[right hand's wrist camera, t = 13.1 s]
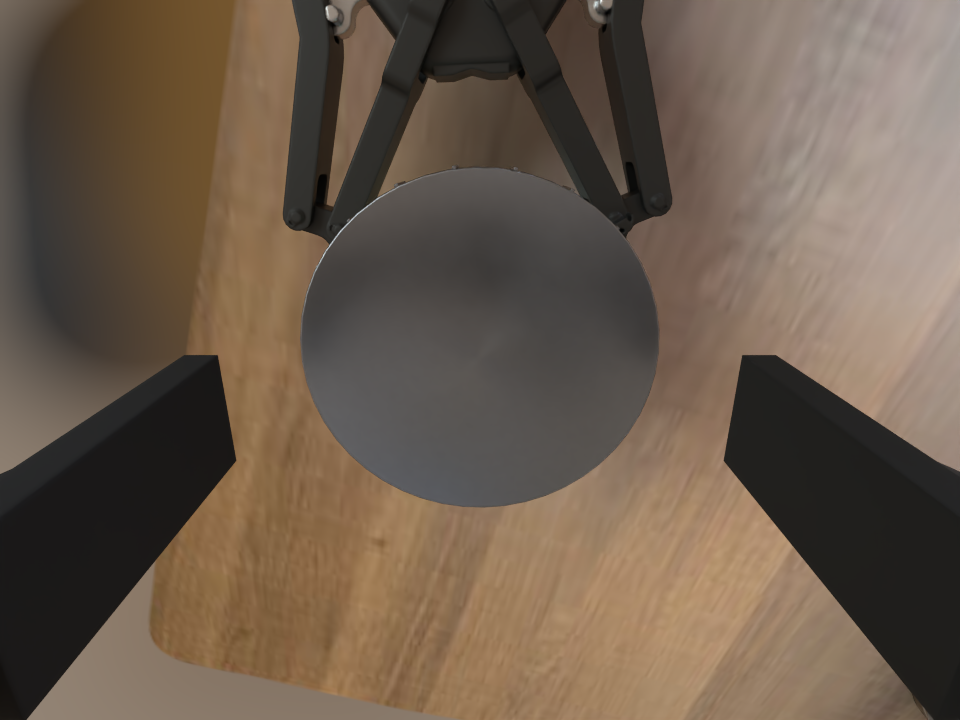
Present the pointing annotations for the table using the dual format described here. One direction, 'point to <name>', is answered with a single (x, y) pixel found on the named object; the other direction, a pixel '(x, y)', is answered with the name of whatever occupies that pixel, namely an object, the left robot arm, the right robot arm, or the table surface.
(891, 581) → the right robot arm
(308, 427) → the table surface
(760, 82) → the table surface
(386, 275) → the lid
